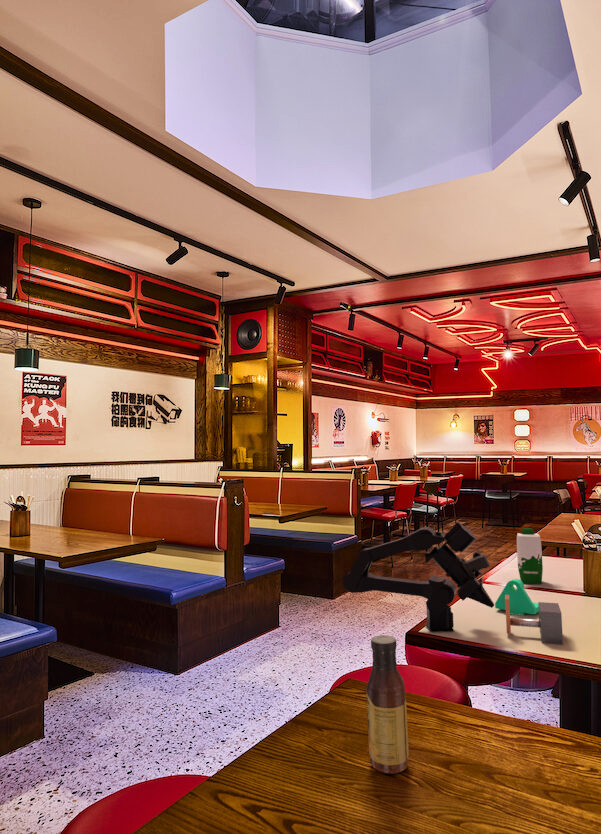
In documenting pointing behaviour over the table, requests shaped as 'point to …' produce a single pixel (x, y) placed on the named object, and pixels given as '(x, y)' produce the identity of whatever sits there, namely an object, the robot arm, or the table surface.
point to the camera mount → (516, 599)
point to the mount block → (550, 623)
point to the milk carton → (529, 557)
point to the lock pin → (518, 619)
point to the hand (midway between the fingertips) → (493, 606)
